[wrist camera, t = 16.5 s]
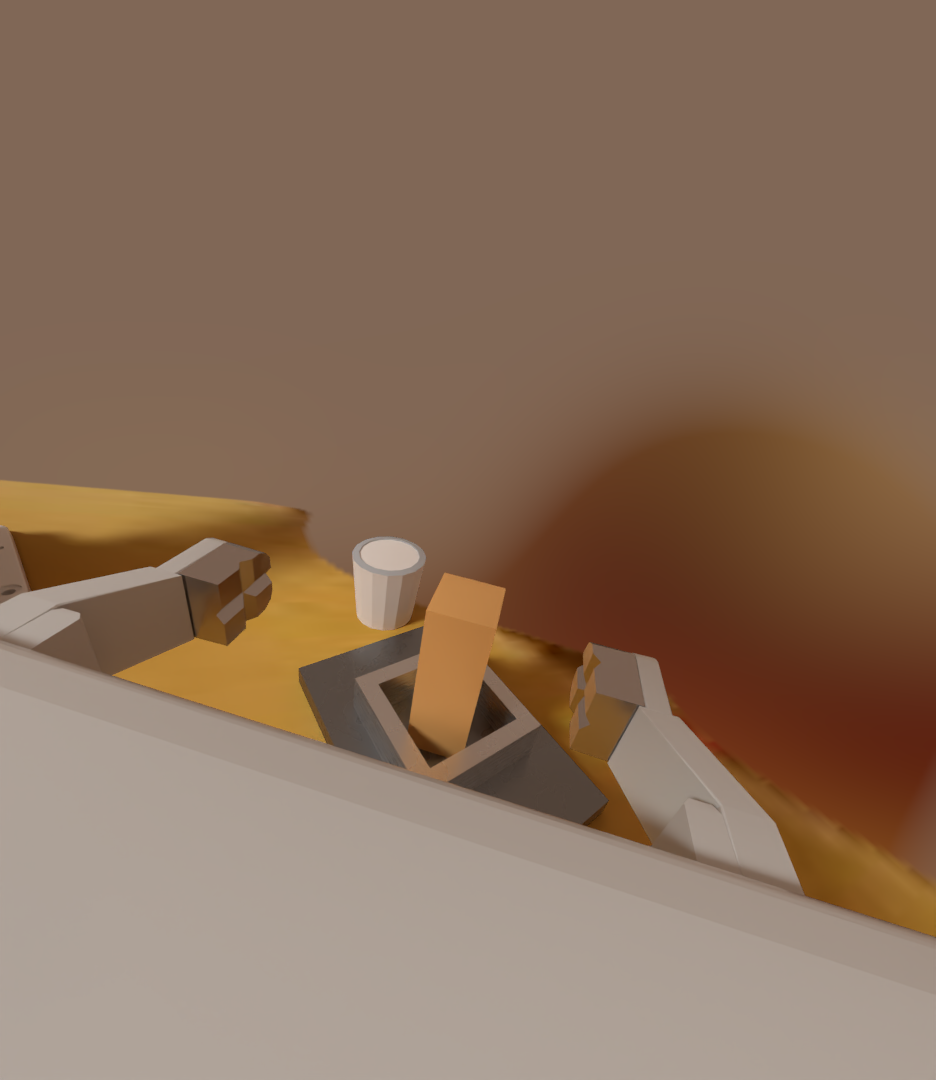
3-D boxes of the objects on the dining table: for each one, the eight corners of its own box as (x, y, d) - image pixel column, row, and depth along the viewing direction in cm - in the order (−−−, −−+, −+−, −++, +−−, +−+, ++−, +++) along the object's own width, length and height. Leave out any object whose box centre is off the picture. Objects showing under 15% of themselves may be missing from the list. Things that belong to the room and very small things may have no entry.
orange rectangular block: (405, 744, 29) (426, 609, 23) (422, 699, 33) (444, 572, 27) (461, 761, 29) (496, 629, 23) (472, 714, 32) (505, 588, 26)
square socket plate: (299, 681, 34) (297, 640, 32) (443, 630, 42) (450, 594, 40) (426, 967, 21) (439, 929, 19) (601, 812, 29) (624, 774, 27)
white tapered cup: (361, 641, 39) (364, 580, 36) (342, 597, 44) (343, 539, 40) (429, 626, 42) (438, 568, 39) (404, 586, 47) (410, 531, 44)
